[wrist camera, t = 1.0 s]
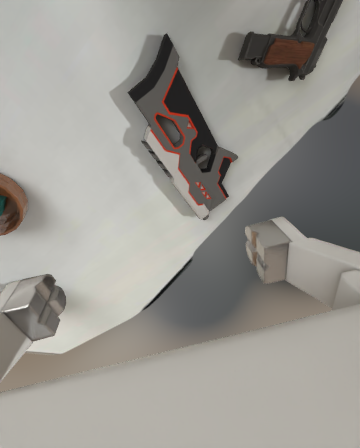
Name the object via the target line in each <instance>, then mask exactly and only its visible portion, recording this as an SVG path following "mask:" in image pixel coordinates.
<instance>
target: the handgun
mask: <svg viewBox="0 0 360 448" xmlns="http://www.w3.org/2000/svg"><path fill="white" fill-rule="evenodd" d="M310 1H311V0H308V1H306V3H305V5H304V8H303V10H302V13H301V15H300V18H299V20H298V23H297V26H296V29H295V31H294V33H293V34H292V35H291V36H282V35H274V34H268V35H263V34H255V33H254V32H249V33H248V34H247V36H246V38H245V41H244V44H243V47H242V50H241V53H240V56H239V59H238V60H243V59H245V60H250V59H252V60H251V64H253V65H257V66H258V67H260V68H275V67H288V68H289V70H290V76H289V78H288V80H289V81H294V80H295V79H296V78H297V77H298V76H299V78H300V80H304V79H305V76H306V75H308V74H309V73H311V72H312V71H313V69H314V68H315V67H316V63H317V61H318V59H319V57H320V54H321V52H322V50H323V48H324V46H325V44H326V41H327V38H326V37H325V36H326V34H327V32H328V30H329V28H330V25H331V23H332V22H333V20H334V18H335V16H336V14H337V12H338V10H339V7H340V5H341V3H342V1H343V0H314V1H315V2H316V11H315V13H314V16H313V19H312V21H311V24H310V26H309V28H308V29H307V30H306V29H304V28H303V26H302V20H303V17H304V15H305V12H306V10H307V7H308V5H309V3H310ZM300 25H301V29H302V30H303V31H304V32H306V35H305V37H302V35H301V33H300Z"/></svg>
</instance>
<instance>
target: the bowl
mask: <svg viewBox="0 0 360 448" xmlns="http://www.w3.org/2000/svg"><path fill="white" fill-rule="evenodd" d="M0 195H2V196H6V197H7V198H6V205H5V210H4V212H3V213H2V215H1V216H0V236H1V235H6V234H8V233H10V232H12V231H14V230H15V229H17V228H18V226H19V225H20V223H21V222H22V221H23V219H24V217H25V214H26V212H27V207H28V200H27V198H26V195H25V193H24V191H23V190H22V188H21V187H19V186H18V185H17V184H16V183H15V182H14V181H13V180H12V179H10V178H8V177H6V176H5V175H3V174H1V173H0Z"/></svg>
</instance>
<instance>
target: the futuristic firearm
mask: <svg viewBox="0 0 360 448" xmlns="http://www.w3.org/2000/svg"><path fill="white" fill-rule="evenodd" d="M178 61H179V55H178V53H177V51H176V49H175V47H174V45H173V43H172V42H171V40H170V38H169V36H168V34H165V35H164V37H163V40H162V43H161V46H160V49H159V52H158V55H157V58H156V60H155V62H154V64H153V65H152V67H151V69H150V71H149V73H148V74H147V76H146V77H145V78H144V79H143V80H142V81H141V82H140V83H138V84H137V85H136V86H135V87H134V88H132V89H131V90H130V91H129V92H128V94H129V95H130V97H131V98H132V99H133V101H134V102H135V104H136V105H137V107H138V108H139V110H140V111H141V112H142V114H143V115H144V117H145V118H146V120H147V121H148V122H149V125H148V127H147V129H146V132H145V135H144V139H145V140H146V142H145V141H141V142H142V143H143V144H144V146H145V147H146V148H147V149H150V150H153V151H154V152H153V151H149V152H150V154H151V155H152V156H153V158H154V159H158V160H161V161H158V160H156V161H157V163H158V164H159V165H160V167H161V168H164V169H163V170H164V172H165V173H166V175H167V176H168V177H170V181H171V182H172V184H173V185H174V186H175V188H176V189H177V190H178V192H179V193H180V194H181V195H182V197H183V198H184V199H185V201H186V202H187V203H188V205H189V206H190V207H191V208H192V210H193V211H194V212H195V214H196V215H197V216H198V218H199V219H201V220H202V219H203V220H206V219H207V218H208V217H209V215H208V214H209V211H211V210H212V209H214V208H215V207H216V206H218V205H219V204H220V203H222V202H223V201H224V200H226V198H227V197H229V195H228V194H227V192H226V190H225V188H224V187H223V185H222V181H223V179H224V177H225V175H226V172H227V170H228V168H229V166H230V163H231V162H233V161H235V160H236V159H237V158H238V156H237V155H236V154H234V153H232V152H230V151H228V150H225V149H223V148H221V147H218V145H217V143H216V141H215V140H214V138H213V136H212V134H211V132H210V130H209V128H208V126H207V124H206V122H205V120H204V118H203V116H202V114H201V112H200V110H199V109H198V107H197V105H196V103H195V101H194V99H193V97H192V95H191V93H190V91H189V89H188V87H187V85H186V83H185V81H184V79H183V78H182V76H181V74H180V72H179V70H178V67H177V65H178ZM157 114H159V115H161V116H163V117H166V118H168V119H170V120H172V122H173V124H174V125H175V127H176V128H177V130H178V132H179V133H180V139H179V141H178V142H177V143H176V144H172V143H171V141H170V140H169V138H168V137H167V135H166V134H165V132H164V131H163V129H162V128H161V126H160V125H159V123H158V122H157V120H156V115H157ZM201 146H205V147H208V148H210V149H211V151H212V152H211V155H210V159H209V162H208V165H207V168H205V169H200V168H199V166H198V164H199V163H201V162H202V161H203V160H206V159H207V155H206V154H202V155H199V156H198V157H197V153H198V149H199V148H200V147H201ZM166 169H167V170H166Z"/></svg>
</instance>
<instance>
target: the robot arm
mask: <svg viewBox="0 0 360 448" xmlns="http://www.w3.org/2000/svg"><path fill="white" fill-rule="evenodd" d="M245 235H246V236H247V238H248V240H247V242H246V251H247V254H248V257H249V260H250V262H251V263H252V265H254V266H256V267H257V273H258V275H259V276H260V278H261V280H262V281H263V283H264V284H268V283H273V282H277V281H281V280H286V281H288V282H289V283H291V284H292V285H294V286H296V287H297V288H299V289H301V290H302V291H304V292H306V293H308V294H309V295H311V296H312V297H314V298H316V299H317V300H319V301H321V302H322V303H324V304H326V305H327V306H329V307H331V308H332V311H329V312H325V313H321V314H317V315H313V316H308V317H304V318H300V319H297V320H292V321H289V322H285V323H280V324H276V325H272V326H268V327H264V328H260V329H256V330H252V331H248V332H244V333H239V334H235V335H232V336H227V337H223V338H219V339H215V340H211V341H207V342H204V343H199V344H195V345H191V346H187V347H183V348H179V349H175V350H171V351H167V352H163V353H158V354H154V355H150V356H146V357H142V358H138V359H134V360H130V361H126V362H122V363H118V364H114V365H110V366H106V367H102V368H98V369H93V370H89V371H85V372H81V373H77V374H73V375H69V376H65V377H61V378H57V379H53V380H49V381H45V382H41V383H36V384H32V385H28V386H24V387H20V388H16V389H12V390H8V391H4V392H0V448H360V252H357V251H354V250H351V249H347V248H344V247H341V246H337V245H334V244H331V243H328V242H324V241H321V240H317V239H314V238H306V237H305V236H304V235H303V234H302V233H301V232H300V231H299V230H297V229H296V228H295V227H294V226H293V225H292V224H291V223H290V222H289V221H288V220H287V219H285V218H284V217H278V218H275V219H272V220H269V221H265V222H261V223H257V224H253V225H249V226H246V228H245ZM55 282H56V280H55V279H54V277H53V276H52V275H50V274H45V275H41V276H36V277H31V278H27V279H23V280H18V281H14V282H11V283H9V284H7V286H6V287H5V288H4V290H3V291H2V293H1V294H0V382H1V381H2V380H3V378H4V377H5V376H6V375H7V373H8V372H9V371H10V370H11V369H12V367H13V366H14V365H15V364H16V363H17V361H18V360H19V359H20V358H21V356H22V355H23V354H24V353H25V352H26V350H27V349H28V348H29V347H30V346H31V344H32V343H33V341H36V340H40V339H44V338H47V337H51V336H54V335H55V333H56V330H57V327H58V325H59V322H60V319H59V317H58V316H59V315H60V314H61V313H62V312H63V311H64V308H65V305H66V296H65V293H64V291H63V290H62V288H60V287H58V286H56V285H55Z"/></svg>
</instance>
